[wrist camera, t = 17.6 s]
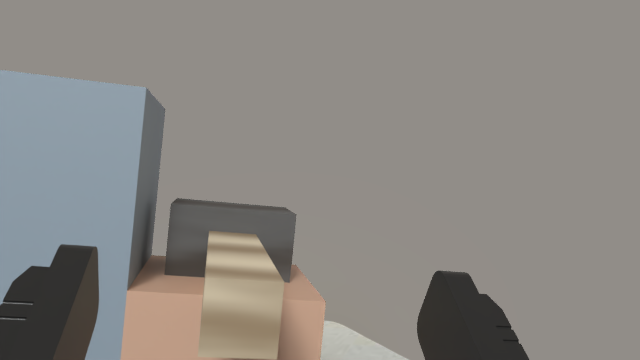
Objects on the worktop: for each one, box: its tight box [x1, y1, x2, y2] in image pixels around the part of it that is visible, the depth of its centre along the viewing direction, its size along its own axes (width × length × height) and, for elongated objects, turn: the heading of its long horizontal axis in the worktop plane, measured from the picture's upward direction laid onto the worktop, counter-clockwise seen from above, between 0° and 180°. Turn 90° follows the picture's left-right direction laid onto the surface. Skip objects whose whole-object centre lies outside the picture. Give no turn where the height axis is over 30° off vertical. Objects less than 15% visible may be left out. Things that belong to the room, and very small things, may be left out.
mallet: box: [164, 198, 296, 360], centre depth 32 cm, size 21×8×4 cm, turn 11°
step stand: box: [0, 70, 326, 360], centre depth 36 cm, size 22×12×32 cm, turn 101°
